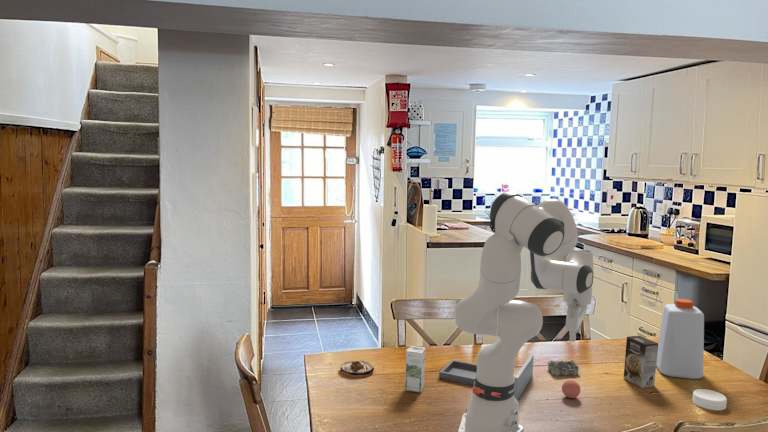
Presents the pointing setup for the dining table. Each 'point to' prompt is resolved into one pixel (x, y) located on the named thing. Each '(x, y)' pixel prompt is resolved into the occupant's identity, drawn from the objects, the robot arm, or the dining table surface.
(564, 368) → the egg carton
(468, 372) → the charcoal tray
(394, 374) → the dining table surface
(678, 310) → the plastic bottle
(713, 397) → the white round lid
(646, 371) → the coffee box
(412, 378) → the syrup box
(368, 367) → the dark rimmed plate
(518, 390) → the slate plastic wall
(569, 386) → the rubber ball
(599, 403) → the dining table surface
